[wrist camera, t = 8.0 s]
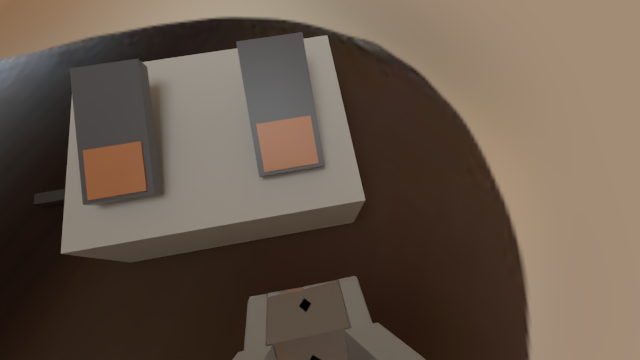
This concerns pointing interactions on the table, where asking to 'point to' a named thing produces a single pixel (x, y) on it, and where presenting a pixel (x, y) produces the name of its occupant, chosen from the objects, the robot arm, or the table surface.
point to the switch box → (215, 169)
